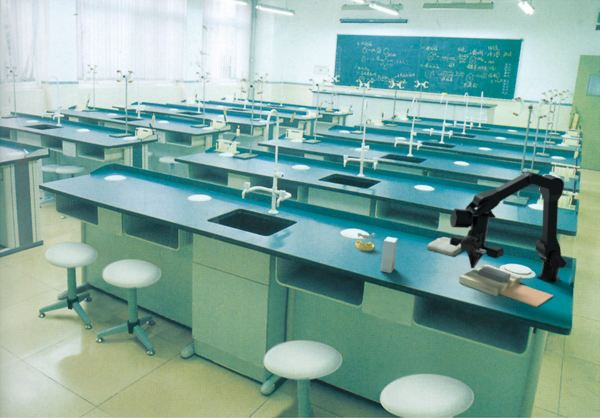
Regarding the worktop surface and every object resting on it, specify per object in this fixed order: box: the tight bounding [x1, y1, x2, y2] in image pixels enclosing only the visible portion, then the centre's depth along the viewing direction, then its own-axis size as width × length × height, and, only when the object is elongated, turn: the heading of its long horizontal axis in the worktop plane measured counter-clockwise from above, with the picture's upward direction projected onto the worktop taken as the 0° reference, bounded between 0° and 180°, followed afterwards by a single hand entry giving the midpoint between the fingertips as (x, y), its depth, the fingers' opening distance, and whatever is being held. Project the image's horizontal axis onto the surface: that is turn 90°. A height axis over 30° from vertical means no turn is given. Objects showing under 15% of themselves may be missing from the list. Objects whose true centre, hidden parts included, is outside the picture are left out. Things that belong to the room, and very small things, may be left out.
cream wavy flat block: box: [458, 264, 523, 297], centre depth 181 cm, size 20×14×2 cm
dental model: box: [354, 232, 376, 252], centre depth 209 cm, size 8×7×7 cm
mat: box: [499, 283, 554, 308], centre depth 172 cm, size 14×12×1 cm
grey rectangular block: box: [478, 266, 511, 283], centre depth 180 cm, size 6×9×2 cm, turn 44°
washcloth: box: [426, 236, 462, 257], centre depth 216 cm, size 12×18×3 cm, turn 143°
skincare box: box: [379, 236, 399, 274], centre depth 186 cm, size 6×4×12 cm
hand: (472, 267), depth 186 cm, fingers closed
